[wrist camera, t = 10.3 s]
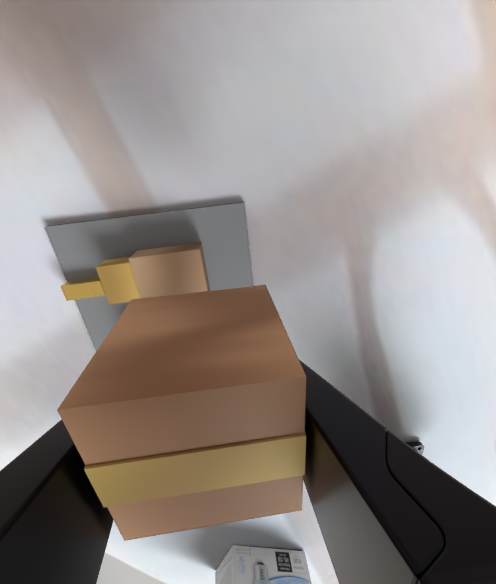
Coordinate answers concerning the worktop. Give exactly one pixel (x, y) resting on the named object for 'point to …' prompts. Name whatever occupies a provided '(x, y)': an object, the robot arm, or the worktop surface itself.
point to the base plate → (146, 235)
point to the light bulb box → (262, 566)
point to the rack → (155, 273)
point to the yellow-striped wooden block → (192, 413)
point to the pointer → (83, 289)
